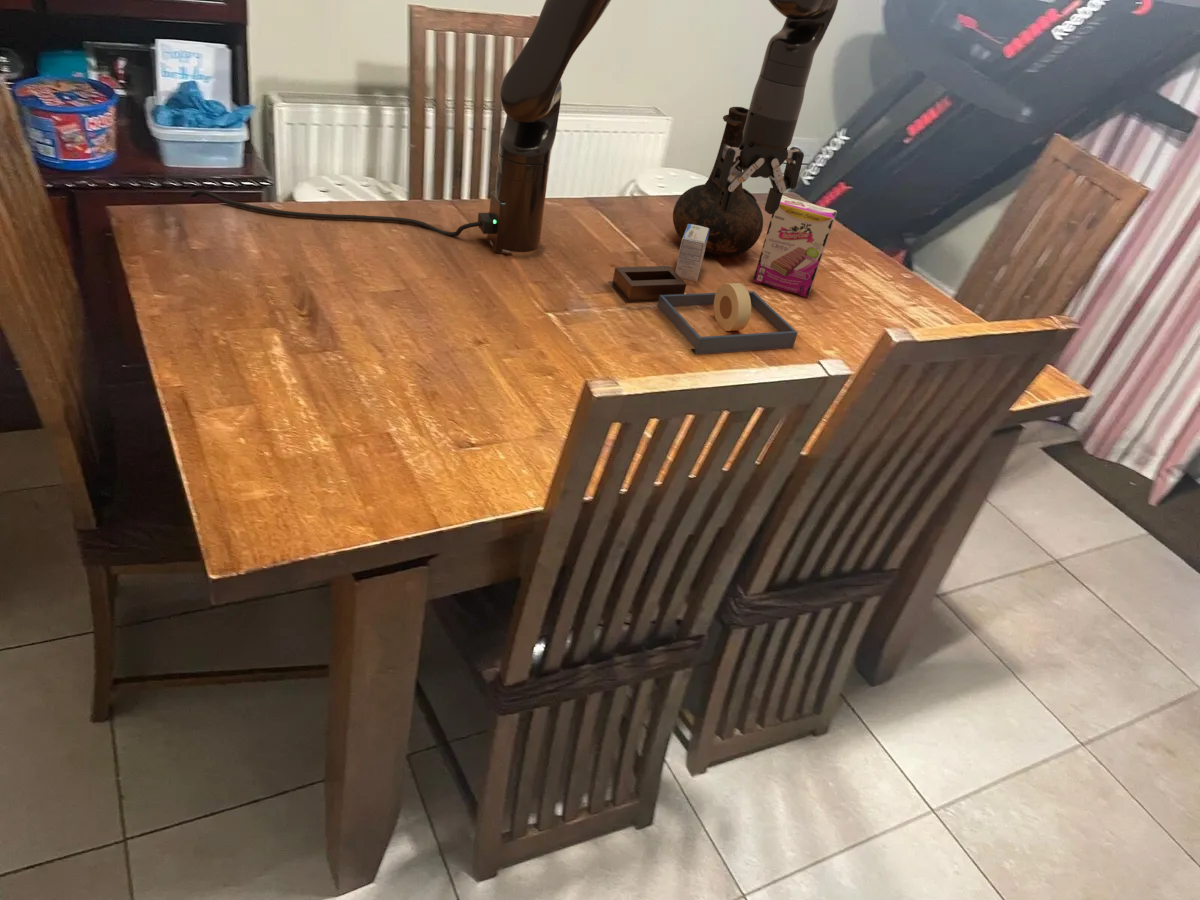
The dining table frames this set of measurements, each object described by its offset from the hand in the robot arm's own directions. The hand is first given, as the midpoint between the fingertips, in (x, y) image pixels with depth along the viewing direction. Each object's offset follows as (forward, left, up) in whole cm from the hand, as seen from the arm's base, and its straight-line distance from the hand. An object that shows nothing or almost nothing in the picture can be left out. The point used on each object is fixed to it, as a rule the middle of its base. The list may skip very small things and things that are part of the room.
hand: (746, 212), depth 148 cm
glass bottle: (+15, +30, -21) cm, 40 cm away
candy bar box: (+22, +13, -21) cm, 33 cm away
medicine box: (+4, +19, -21) cm, 29 cm away
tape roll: (+1, -1, -20) cm, 20 cm away
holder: (-8, +12, -21) cm, 25 cm away
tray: (+1, -1, -21) cm, 21 cm away
